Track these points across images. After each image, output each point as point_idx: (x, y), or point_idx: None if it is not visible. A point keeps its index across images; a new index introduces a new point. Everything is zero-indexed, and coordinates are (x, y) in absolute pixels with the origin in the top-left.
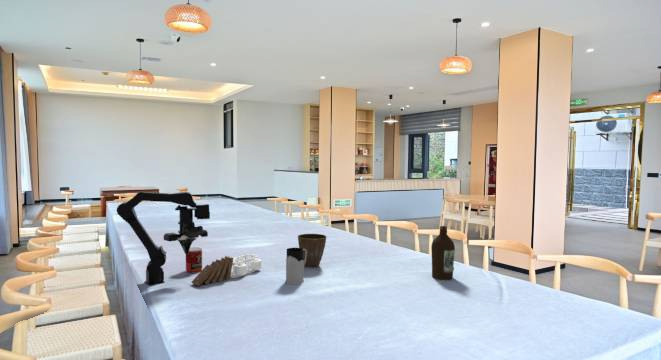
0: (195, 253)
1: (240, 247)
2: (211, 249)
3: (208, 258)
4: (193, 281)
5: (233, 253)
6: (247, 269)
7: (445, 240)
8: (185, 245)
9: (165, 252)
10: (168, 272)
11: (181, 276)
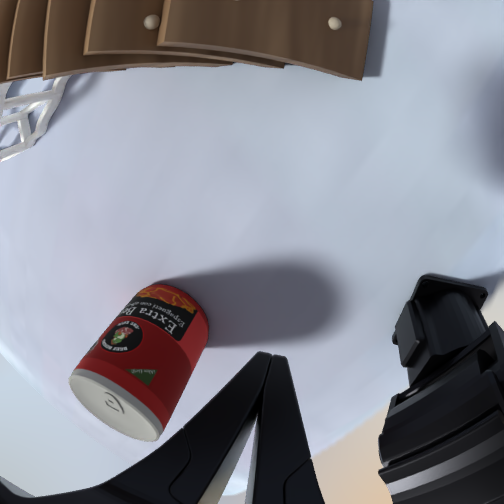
0: (121, 373)
1: (12, 354)
2: (67, 401)
3: None
4: (356, 59)
5: (22, 339)
6: None
7: None
8: (291, 494)
9: (406, 469)
10: None
11: (276, 296)
